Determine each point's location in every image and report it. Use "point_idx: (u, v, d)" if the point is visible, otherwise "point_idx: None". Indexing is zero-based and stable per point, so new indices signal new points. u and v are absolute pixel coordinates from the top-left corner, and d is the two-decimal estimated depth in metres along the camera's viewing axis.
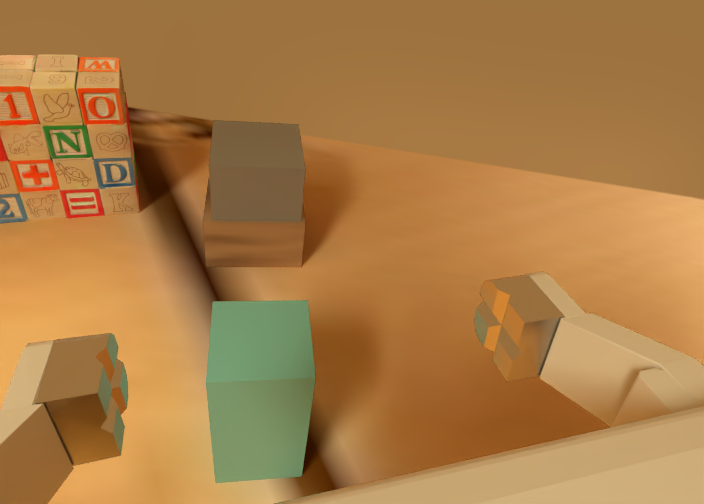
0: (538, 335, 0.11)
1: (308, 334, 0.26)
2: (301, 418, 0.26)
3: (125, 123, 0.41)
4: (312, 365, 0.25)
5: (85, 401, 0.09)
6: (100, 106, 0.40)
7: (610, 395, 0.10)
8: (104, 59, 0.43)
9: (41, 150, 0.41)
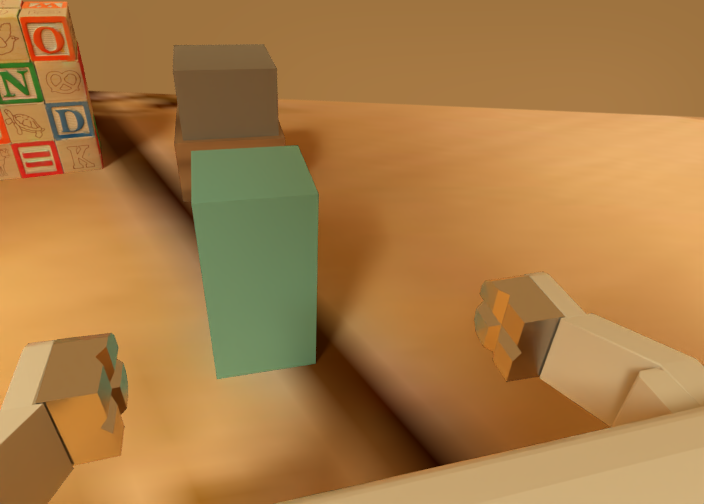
0: (538, 335, 0.11)
1: (303, 166, 0.23)
2: (307, 263, 0.23)
3: (77, 59, 0.38)
4: (313, 186, 0.21)
5: (85, 400, 0.09)
6: (47, 39, 0.37)
7: (610, 395, 0.10)
8: (50, 2, 0.40)
9: None
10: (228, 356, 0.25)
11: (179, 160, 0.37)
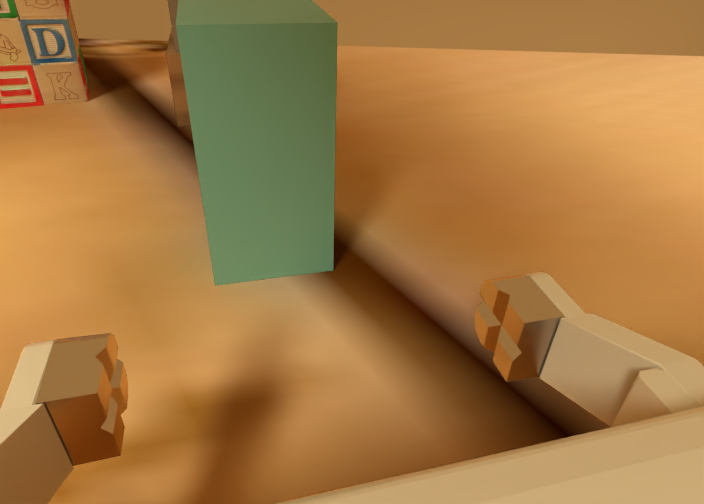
0: (538, 335, 0.11)
1: (317, 8, 0.19)
2: (322, 126, 0.18)
3: None
4: (329, 18, 0.17)
5: (84, 400, 0.09)
6: None
7: (610, 395, 0.10)
8: None
9: None
10: (228, 254, 0.20)
11: (172, 75, 0.33)
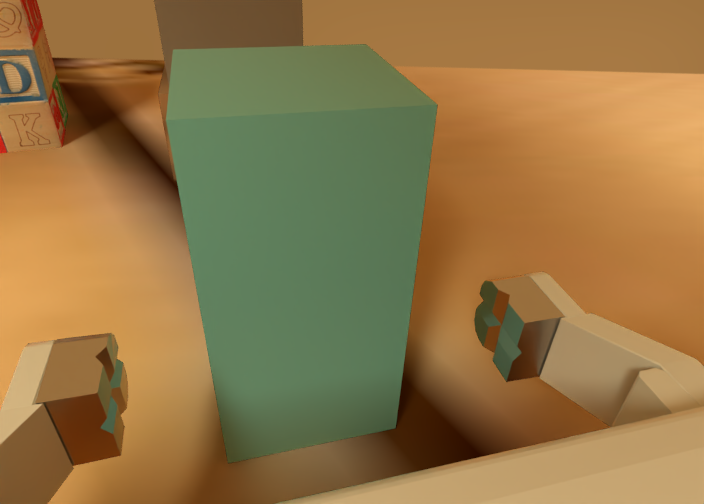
0: (538, 335, 0.11)
1: (388, 68, 0.12)
2: (399, 254, 0.12)
3: None
4: (419, 93, 0.10)
5: (85, 400, 0.09)
6: None
7: (610, 395, 0.10)
8: None
9: None
10: (248, 426, 0.14)
11: None
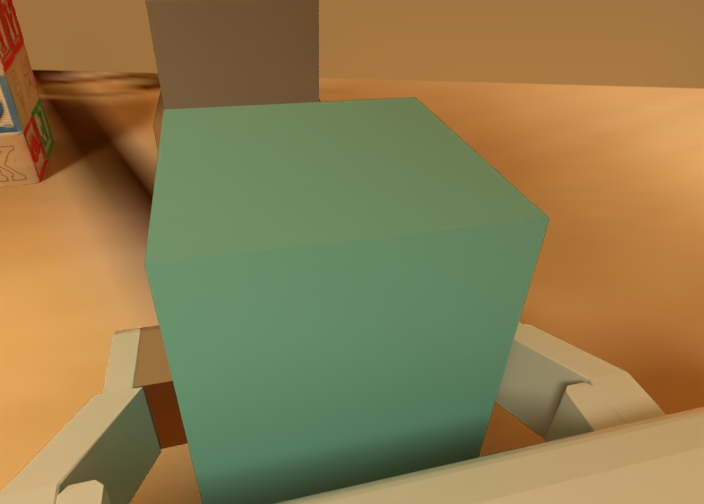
0: None
1: (456, 141, 0.09)
2: (472, 399, 0.09)
3: None
4: (515, 194, 0.07)
5: None
6: None
7: (545, 409, 0.10)
8: None
9: None
10: None
11: None
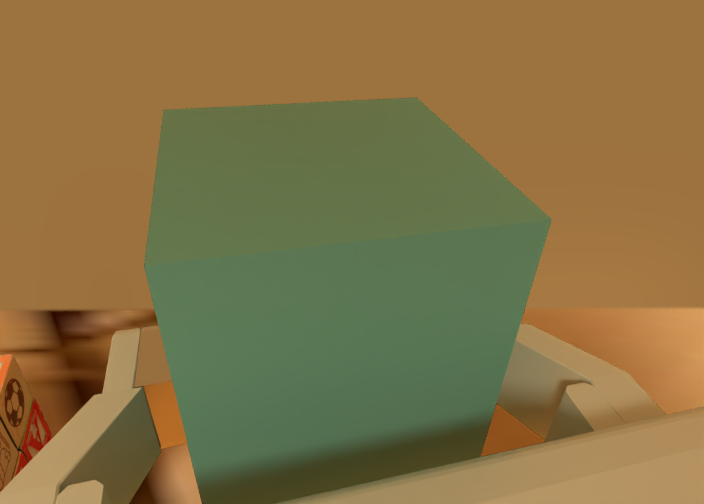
0: None
1: (457, 142, 0.09)
2: (473, 400, 0.08)
3: None
4: (516, 194, 0.07)
5: None
6: None
7: (545, 409, 0.10)
8: None
9: None
10: None
11: None
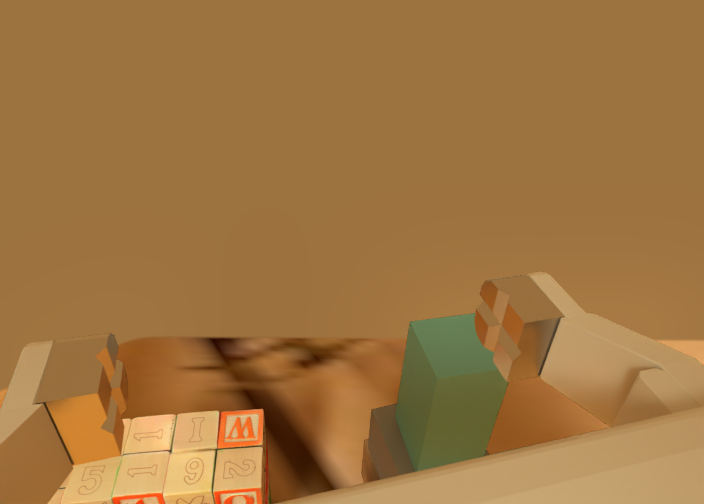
0: (538, 335, 0.11)
1: None
2: (495, 404, 0.33)
3: None
4: None
5: (85, 400, 0.09)
6: (238, 501, 0.33)
7: (610, 395, 0.10)
8: (247, 413, 0.37)
9: None
10: (428, 461, 0.35)
11: None
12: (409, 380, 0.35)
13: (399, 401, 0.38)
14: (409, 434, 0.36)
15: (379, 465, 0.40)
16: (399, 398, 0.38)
